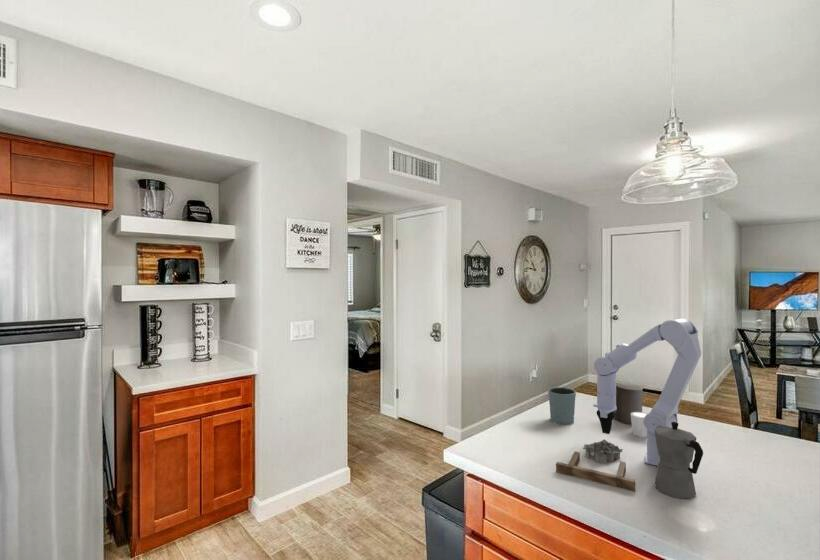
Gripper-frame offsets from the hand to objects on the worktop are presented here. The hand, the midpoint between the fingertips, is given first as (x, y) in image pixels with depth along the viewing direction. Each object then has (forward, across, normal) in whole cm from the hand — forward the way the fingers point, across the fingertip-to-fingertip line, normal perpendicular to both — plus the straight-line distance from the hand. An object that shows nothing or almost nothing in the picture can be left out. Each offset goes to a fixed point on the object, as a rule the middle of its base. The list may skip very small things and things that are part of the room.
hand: (606, 432), depth 137 cm
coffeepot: (+4, +24, +20) cm, 31 cm away
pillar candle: (+4, -30, +5) cm, 30 cm away
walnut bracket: (+4, +23, 0) cm, 24 cm away
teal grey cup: (+4, -16, -17) cm, 24 cm away
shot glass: (+4, -16, +10) cm, 20 cm away
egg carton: (+4, +11, 0) cm, 11 cm away
